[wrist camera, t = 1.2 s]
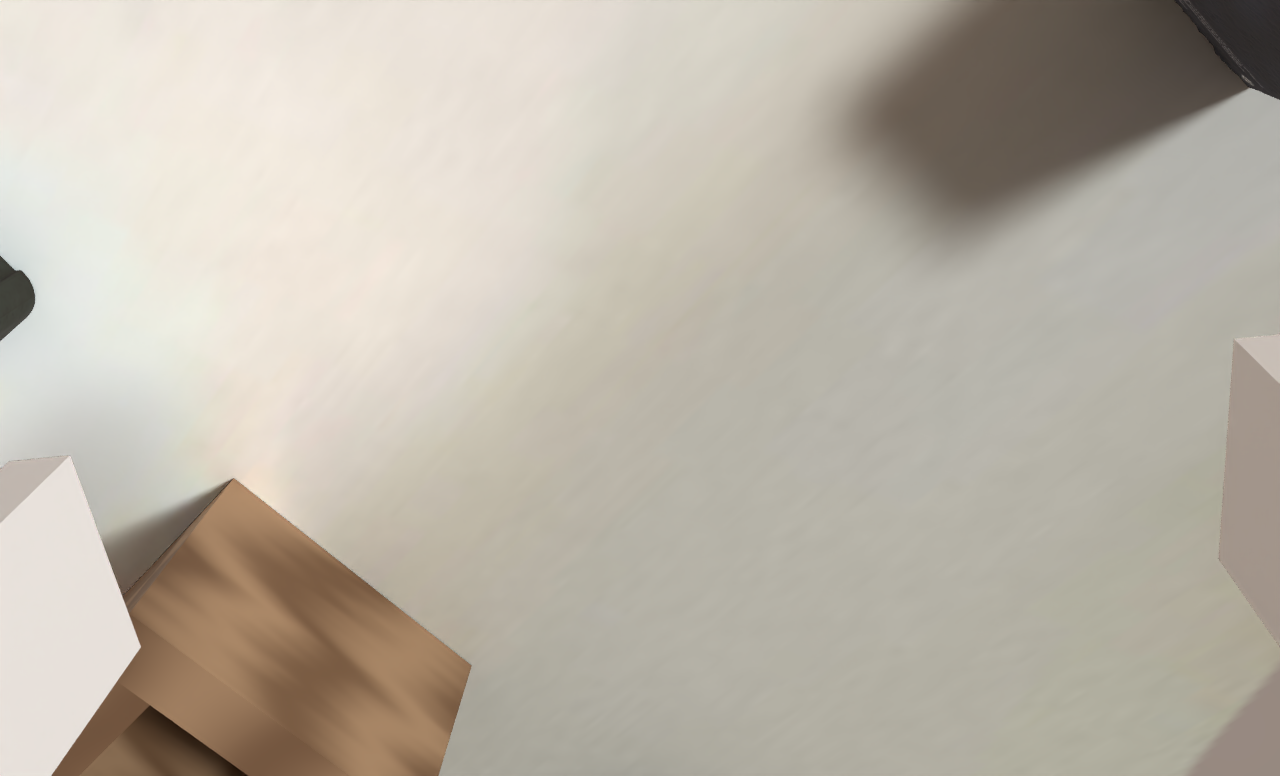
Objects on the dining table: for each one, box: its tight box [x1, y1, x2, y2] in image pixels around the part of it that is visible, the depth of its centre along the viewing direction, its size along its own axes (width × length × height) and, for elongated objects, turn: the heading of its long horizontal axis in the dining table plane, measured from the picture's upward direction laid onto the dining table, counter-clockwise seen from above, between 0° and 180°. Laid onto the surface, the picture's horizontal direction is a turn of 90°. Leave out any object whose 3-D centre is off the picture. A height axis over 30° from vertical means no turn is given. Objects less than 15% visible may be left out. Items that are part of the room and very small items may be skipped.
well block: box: [51, 478, 471, 776], centre depth 46 cm, size 12×12×9 cm
